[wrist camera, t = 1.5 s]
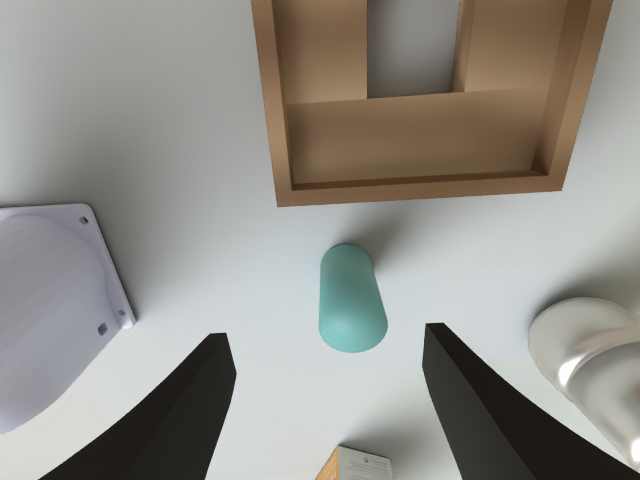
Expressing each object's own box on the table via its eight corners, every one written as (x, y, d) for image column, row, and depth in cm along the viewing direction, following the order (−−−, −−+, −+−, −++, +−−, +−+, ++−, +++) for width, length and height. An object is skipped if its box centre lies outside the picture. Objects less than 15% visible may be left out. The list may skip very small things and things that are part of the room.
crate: (523, 176, 18) (561, 190, 15) (284, 190, 18) (277, 207, 16) (597, -177, 12) (684, -265, 9) (247, -141, 13) (223, -212, 10)
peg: (371, 286, 21) (386, 351, 16) (322, 289, 21) (320, 354, 16) (371, 242, 20) (388, 296, 14) (318, 245, 20) (316, 299, 15)
